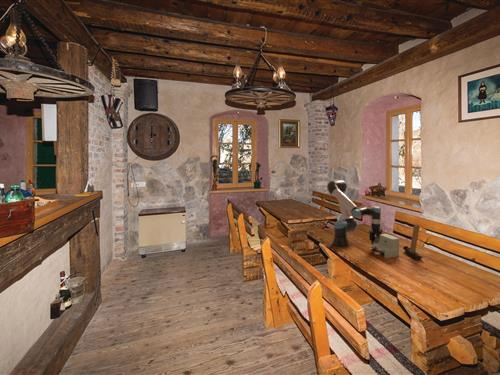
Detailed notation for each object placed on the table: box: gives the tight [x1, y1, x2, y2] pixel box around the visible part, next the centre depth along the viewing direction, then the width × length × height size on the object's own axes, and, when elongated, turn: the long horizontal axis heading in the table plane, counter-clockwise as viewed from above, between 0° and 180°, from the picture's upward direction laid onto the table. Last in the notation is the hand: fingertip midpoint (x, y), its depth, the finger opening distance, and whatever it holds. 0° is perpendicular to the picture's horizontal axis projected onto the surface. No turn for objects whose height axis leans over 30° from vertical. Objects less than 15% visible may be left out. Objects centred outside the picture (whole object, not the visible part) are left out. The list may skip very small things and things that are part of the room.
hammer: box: [402, 223, 424, 260], centre depth 230 cm, size 20×5×30 cm, turn 1°
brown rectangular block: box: [372, 234, 385, 254], centre depth 245 cm, size 18×4×12 cm, turn 17°
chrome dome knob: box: [374, 250, 383, 256], centre depth 241 cm, size 6×6×2 cm
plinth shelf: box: [371, 233, 400, 259], centre depth 239 cm, size 16×14×16 cm
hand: (375, 247), depth 252 cm, fingers closed on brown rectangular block, 4 cm apart
